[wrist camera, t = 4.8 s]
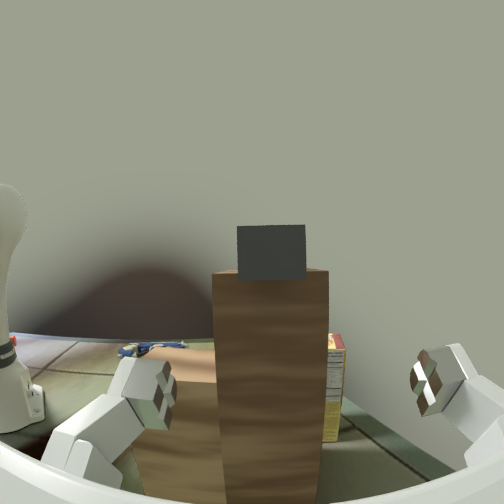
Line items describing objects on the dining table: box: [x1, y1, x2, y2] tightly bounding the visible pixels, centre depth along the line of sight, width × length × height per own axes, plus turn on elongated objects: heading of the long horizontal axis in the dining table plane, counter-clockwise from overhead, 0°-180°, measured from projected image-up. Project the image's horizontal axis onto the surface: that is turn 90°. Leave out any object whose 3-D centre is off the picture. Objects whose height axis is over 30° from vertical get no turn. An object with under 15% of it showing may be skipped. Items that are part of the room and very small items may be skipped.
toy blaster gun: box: [118, 341, 189, 359], centre depth 81 cm, size 21×4×15 cm
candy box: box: [322, 334, 346, 442], centre depth 42 cm, size 9×4×15 cm, turn 170°
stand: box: [131, 268, 329, 504], centre depth 30 cm, size 14×18×26 cm
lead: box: [237, 225, 307, 281], centre depth 25 cm, size 24×3×2 cm, turn 177°
